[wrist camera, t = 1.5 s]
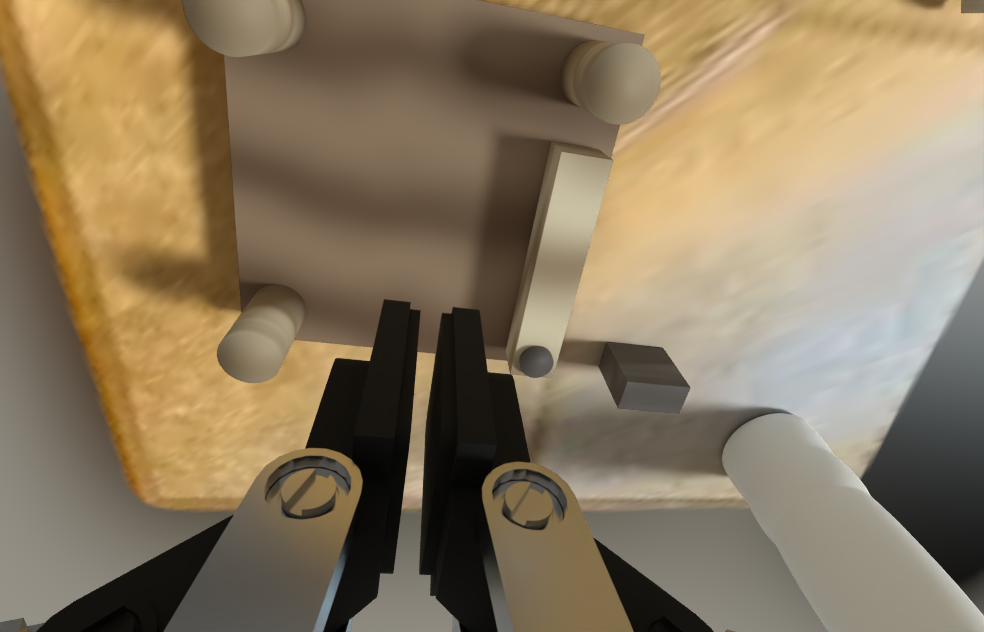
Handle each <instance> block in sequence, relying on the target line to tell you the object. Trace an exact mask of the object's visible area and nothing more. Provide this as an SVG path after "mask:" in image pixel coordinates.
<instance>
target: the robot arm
mask: <svg viewBox="0 0 984 632" xmlns="http://www.w3.org/2000/svg"><path fill="white" fill-rule="evenodd" d="M410 306H411V302H405V301H396V300H387V299H384V301H383V305H382V310H381V314H380V319H379V323H378V328H377V332H376V337H375V341H374V346H373V350H372V355H371V359H370V361H363V360H352V359H341V358H336V359H335V361H334V363H333V366H332V369H331V372H330V375H329V378H328V381H327V384H326V387H325V390H324V393H323V396H322V399H321V402H320V406H319V409H318V412H317V415H316V418H315V421H314V424H313V427H312V430H311V433H310V436H309V439H308V442H307V445H306V448H305V449H302V450H295V451H292V452H290V453H287V454H285V455H282V456H280V457H278V458H276V459H275V460H274V461H272V462H271V463H269V464H268V465H266V466H265V467H264V469H263V470H262V471H261V472H260V473H259V475H258V476H257V477H256V479H255V480H254V482H253V484H252V485H251V487H250V489H249V490H248V492H247V494H246V495H245V497H244V499H243V500H242V502H241V504H240V505H239V507H238V509H237V510H236V512H235V514H234V515H232V516H230V517H228V518H226V519H224V520H223V521H221V522H219V523H217V524H215V525H213V526H212V527H210V528H208V529H206V530H204V531H202V532H201V533H199V534H197V535H195V536H193V537H192V538H190V539H188V540H186V541H184V542H182V543H180V544H179V545H177V546H175V547H173V548H171V549H169V550H168V551H166V552H164V553H162V554H160V555H159V556H157V557H155V558H153V559H151V560H149V561H148V562H146V563H144V564H142V565H140V566H138V567H136V568H135V569H133V570H131V571H129V572H127V573H126V574H124V575H122V576H120V577H118V578H116V579H115V580H113V581H111V582H109V583H107V584H105V585H104V586H102V587H100V588H98V589H96V590H94V591H93V592H91V593H89V594H87V595H85V596H84V597H82V598H80V599H78V600H76V601H74V602H73V603H71V604H70V605H68V606H67V607H65V608H64V609H62V610H61V611H59V612H58V613H56V614H55V615H53V616H52V617H51V618H50V619H49V620H47V621H46V623H42V624H37V625H32V626H27V625H26V622H25V620H24V618H20V619H15V620H10V621H5V622H0V632H351V628H352V619H353V617H354V616H355V615H356V614H357V613H358V612H360V611H361V610H362V609H363V608H364V607H365V606H367V605H368V604H369V603H370V602H372V600H374V599H375V598H376V597H377V594H378V587H379V578H380V573H389V574H393V571H394V563H395V555H396V547H397V539H398V532H399V523H400V516H401V508H402V500H403V492H404V484H405V476H406V468H407V460H408V452H409V443H410V433H411V422H412V410H413V398H414V386H415V374H416V361H417V349H418V337H419V325H420V313H421V310H414V309H410ZM419 574H420V575H431V588H430V591H431V592H430V595H431V596H436V599H437V600H438V601H439V602H440V603H441V604H442V605H443V606H444V607H445V608H446V609H447V610H448V611H449V612H450V613H451V614H452V615H453V623H452V632H713V630H712V629H711V628H710V627H709V626H708V625H707V624H706V623H705V622H704V621H703V620H701V619H700V618H699V617H698V616H697V615H696V614H695V613H693V612H692V611H691V610H689V609H688V608H687V607H685V606H684V605H682V604H681V603H680V602H679V601H677V600H676V599H675V598H673V597H672V596H671V595H669V594H668V593H667V592H665V591H664V590H663V589H661V588H660V587H659V586H657V585H656V584H655V583H653V582H652V581H651V580H649V579H648V578H647V577H645V576H644V575H643V574H641V573H640V572H638V571H637V570H636V569H635V568H633V567H632V566H631V565H629V564H628V563H627V562H625V561H624V560H622V559H621V558H620V557H619V556H617V555H616V554H615V553H613V552H612V551H611V550H609V549H608V548H607V547H605V546H604V545H603V544H601V543H600V542H599V541H597V540H596V539H595V538H593V536H592V534H591V531H590V529H589V527H588V524H587V522H586V520H585V518H584V515H583V513H582V511H581V508H580V506H579V504H578V501H577V499H576V497H575V495H574V493H573V491H572V490H571V488H570V487H569V485H568V484H567V483H566V482H565V481H564V480H563V479H562V478H561V477H560V476H559V475H558V474H556V473H554V472H553V471H551V470H549V469H547V468H546V467H543V466H540V465H537V464H534V463H530V458H529V453H528V448H527V443H526V438H525V433H524V428H523V423H522V418H521V413H520V408H519V403H518V398H517V393H516V388H515V383H514V379H513V376H512V375H511V374H501V373H490V372H488V371H487V364H486V356H485V348H484V340H483V333H482V325H481V317H480V311H479V310H476V309H467V308H458V307H453V308H452V313H451V314H450V313H442V315H441V321H440V328H439V335H438V342H437V349H436V356H435V363H434V370H433V377H432V384H431V391H430V398H429V405H428V412H427V420H426V432H425V454H424V476H423V498H422V521H421V542H420V567H419ZM725 632H734V631H731V630H726V631H725Z"/></svg>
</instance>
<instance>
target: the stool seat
mask: <svg viewBox="0 0 984 632" xmlns="http://www.w3.org/2000/svg"><path fill="white" fill-rule="evenodd" d="M182 4H183V9H184V13H185V16H186V18H187V21H188V23H189V25H190V27H191V28H192V30H193V31H194V33H195V34H196V35H197V36H198V38H199V39H200V40H201V41H202V42H203V43H204V44H206V45H207V46H208V47H210V48H211V49H213V50H214V51H216V52H218V53H220V54H223V55H224V63H225V77H226V92H227V107H228V121H229V136H230V151H231V165H232V180H233V195H234V209H235V224H236V239H237V253H238V268H239V283H240V297H241V312H242V313H241V315H240V316H239V317H238V319H237V320H236V322H235V323H234V324H233V326H232V327H231V329H230V330H229V331H228V333H227V334H226V336H225V337H224V338H223V340H222V341H221V343H220V344H219V346H218V349H217V358H218V361H219V364H220V366H221V367H222V368H223V370H224V371H225V372H226V373H228V374H229V375H230V376H232V377H233V378H235V379H237V380H240V381H243V382H247V383H261V382H265V381H268V380H270V379H271V378H273V377H274V376H275V375H276V374H277V373H278V371H279V370H280V368H281V365H282V363H283V361H284V359H285V357H286V355H287V353H288V351H289V349H290V347H291V345H292V343H293V341H294V340H302V341H312V342H322V343H333V344H343V345H353V346H363V347H373V346H374V341H375V337H376V332H377V328H378V323H379V319H380V314H381V310H382V305H383V301H384V299H387V300H396V301H405V302H411V306H410V309H414V310H421V313H420V325H419V337H418V349H417V352H424V353H434V354H436V349H437V342H438V335H439V328H440V321H441V315H442V313H450V314H451V313H452V308H453V307H458V308H467V309H476V310H479V311H480V317H481V325H482V333H483V340H484V348H485V356H486V359H495V360H506V361H508V359H507V354H506V347H507V343H508V338H509V333H510V329H511V324H512V320H513V315H514V311H515V306H516V301H517V297H518V292H519V288H520V283H521V279H522V274H523V269H524V265H525V260H526V256H527V251H528V247H529V242H530V237H531V233H532V228H533V224H534V219H535V215H536V210H537V205H538V201H539V196H540V192H541V187H542V183H543V178H544V173H545V169H546V164H547V160H548V155H549V151H550V146H551V141H552V142H558V143H564V144H570V145H576V146H582V147H588V148H594V149H599V150H600V151H602V152H603V153H604V154H606V155H607V156H608V157H610V158H611V155H612V152H613V148H614V145H615V141H616V137H617V134H618V130H619V126H620V125H623V124H628V123H631V122H634V121H636V120H637V119H639V118H641V117H642V116H643V115H644V114H645V113H646V112H647V111H648V110H649V109H650V108H651V107H652V105H653V104H654V102H655V100H656V98H657V95H658V93H659V89H660V83H661V74H660V68H659V65H658V62H657V60H656V58H655V57H654V55H653V54H652V53H651V52H650V51H649V50H648V49H646V48H645V47H643V46H642V43H643V39H644V36H645V35H644V34H639V33H634V32H629V31H624V30H620V29H615V28H610V27H605V26H600V25H596V24H591V23H586V22H581V21H576V20H571V19H567V18H562V17H557V16H552V15H547V14H543V13H538V12H533V11H528V10H523V9H518V8H514V7H509V6H504V5H499V4H494V3H490V2H485V1H480V0H182ZM599 368H600V371H601V373H602V375H603V377H604V379H605V381H606V384H607V386H608V388H609V390H610V392H611V394H612V397H613V399H614V401H615V403H616V405H617V407H618V408H619V409H631V410H642V411H654V412H665V413H677V414H679V413H680V411H681V408H682V406H683V404H684V402H685V399H686V397H687V395H688V392H689V390H690V386H689V385H688V383H687V382H686V380H685V379H684V377H683V376H682V375H681V373H680V372H679V370H678V369H677V367H676V366H675V364H674V363H673V362H672V360H671V359H670V357H669V356H668V354H667V353H666V351H665V350H664V349H663V348H659V347H649V346H640V345H631V344H621V343H612V342H607V343H606V346H605V349H604V352H603V355H602V358H601V361H600V365H599Z"/></svg>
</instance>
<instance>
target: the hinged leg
mask: <svg viewBox="0 0 984 632" xmlns="http://www.w3.org/2000/svg"><path fill="white" fill-rule="evenodd" d="M612 163H613V160H612V159H611V158H610V157H608V156H607V155H606V154H604V153H603V152H602V151H600V150H599V149H594V148H588V147H582V146H576V145H570V144H564V143H558V142H552V141H551V146H550V151H549V155H548V160H547V164H546V169H545V173H544V178H543V183H542V187H541V192H540V196H539V201H538V205H537V210H536V215H535V219H534V224H533V228H532V233H531V237H530V242H529V247H528V251H527V256H526V260H525V265H524V269H523V274H522V279H521V283H520V288H519V292H518V297H517V301H516V306H515V311H514V315H513V320H512V324H511V329H510V333H509V338H508V343H507V347H506V354H507V359H508V365H509V370H510V374H513V375H524V376H529V377H533V378H538V377H545V378H553V375H554V371H555V368H556V364H557V360H558V357H559V353H560V350H561V346H562V342H563V339H564V335H565V332H566V328H567V325H568V321H569V317H570V314H571V310H572V307H573V303H574V299H575V296H576V292H577V289H578V285H579V281H580V278H581V274H582V271H583V267H584V264H585V260H586V256H587V253H588V249H589V246H590V242H591V238H592V235H593V231H594V228H595V224H596V220H597V217H598V213H599V210H600V206H601V202H602V199H603V195H604V192H605V188H606V185H607V181H608V177H609V174H610V170H611V167H612Z"/></svg>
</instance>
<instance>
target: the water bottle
mask: <svg viewBox="0 0 984 632" xmlns="http://www.w3.org/2000/svg"><path fill="white" fill-rule="evenodd" d="M722 464H723V467H724V470H725V472H726V473H727V475H728V477H729V478H730V480H731V481H732V483H733V484H734V486H735V487H736V488H737V490H738V491H739V492H740V494H741V495H742V496H743V497H744V498H745V500H746V501H747V502H748V503H749V506H750V508H751V510H752V512H753V514H754V516H755V518H756V520H757V521H758V523H759V525H760V526H761V528H762V529H763V530H764V532H765V533H766V534H767V536H768V537H769V538H770V539H771V540H772V541H773V542H774V543H775V544H776V545H777V547H778V549H779V551H780V553H781V555H782V557H783V559H784V560H785V562H786V564H787V566H788V568H789V570H790V571H791V573H792V575H793V577H794V578H795V580H796V582H797V583H798V585H799V587H800V588H801V590H802V592H803V593H804V595H805V596H806V598H807V600H808V601H809V603H810V604H811V606H812V607H813V609H814V611H815V612H816V614H817V615H818V617H819V619H820V620H821V622H822V623H823V624H824V626H825V628H826V629H827V631H828V632H984V616H983V615H982V613H981V612H980V611H979V610H978V608H977V607H976V606H975V605H974V604H973V603H972V601H971V600H970V599H969V598H968V597H967V595H966V594H965V593H964V592H963V591H962V590H961V589H960V588H959V586H958V585H957V584H956V583H955V582H954V581H953V580H952V579H951V577H950V576H949V575H948V574H947V573H946V572H945V571H944V570H943V569H942V568H941V566H939V564H938V563H937V562H936V561H935V560H934V559H933V558H932V557H931V556H930V555H929V553H928V552H927V551H926V550H925V549H924V548H923V547H922V546H921V545H920V544H919V543H918V542H917V541H916V540H915V539H914V538H913V537H912V536H911V535H910V533H909V532H907V530H906V529H905V528H904V527H903V526H902V525H901V524H900V523H899V522H898V521H897V520H896V519H895V518H894V517H893V516H892V515H890V514H889V513H888V512H887V511H886V510H885V509H884V508H883V507H882V506H881V505H880V504H879V503H878V502H876V501H875V500H874V499H873V498H872V497H871V496H870V494H869V492H868V490H867V489H866V487H865V486H864V484H863V483H862V482H861V480H860V479H859V478H858V477H857V476H856V475H855V474H854V472H853V471H852V470H851V469H850V468H849V467H848V466H847V465H846V464H844V463H843V462H842V461H841V460H840V459H838V458H837V457H836V456H835V455H834V454H833V453H832V451H831V450H830V448H829V447H828V445H827V444H826V443H825V441H824V440H823V439H822V438H821V437H820V435H819V434H818V433H817V432H816V431H815V430H814V429H813V428H812V427H811V426H810V425H809V424H808V423H807V422H806V421H805V420H803V419H802V418H800V417H798V416H795V415H791V414H785V413H775V414H768V415H763V416H760V417H757V418H755V419H752V420H750V421H749V422H747V423H745V424H744V425H742V426H741V427H740V428H738V429H737V430H736V431H735V432H734V433H733V434H732V435H731V437H730V438H729V439H728V441H727V443H726V445H725V447H724V449H723V454H722Z"/></svg>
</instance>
